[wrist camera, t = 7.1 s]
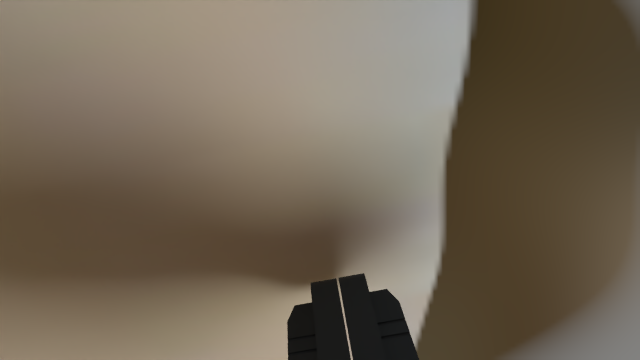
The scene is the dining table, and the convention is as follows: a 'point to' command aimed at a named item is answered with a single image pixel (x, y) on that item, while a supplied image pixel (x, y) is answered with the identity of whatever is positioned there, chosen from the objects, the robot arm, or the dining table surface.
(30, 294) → the dining table surface
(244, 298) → the dining table surface
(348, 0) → the dining table surface
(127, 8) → the dining table surface
